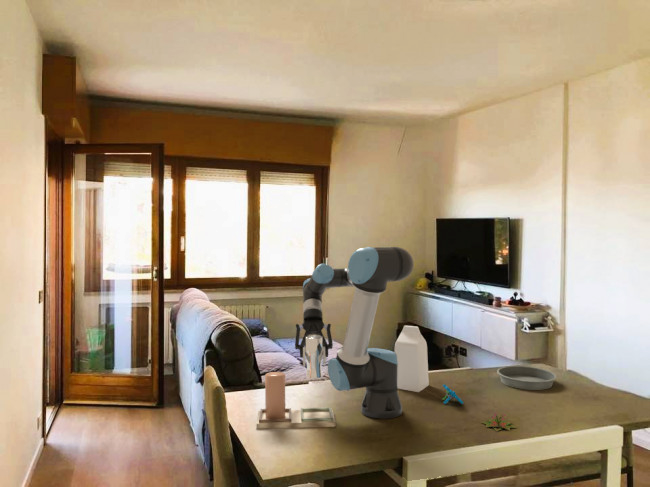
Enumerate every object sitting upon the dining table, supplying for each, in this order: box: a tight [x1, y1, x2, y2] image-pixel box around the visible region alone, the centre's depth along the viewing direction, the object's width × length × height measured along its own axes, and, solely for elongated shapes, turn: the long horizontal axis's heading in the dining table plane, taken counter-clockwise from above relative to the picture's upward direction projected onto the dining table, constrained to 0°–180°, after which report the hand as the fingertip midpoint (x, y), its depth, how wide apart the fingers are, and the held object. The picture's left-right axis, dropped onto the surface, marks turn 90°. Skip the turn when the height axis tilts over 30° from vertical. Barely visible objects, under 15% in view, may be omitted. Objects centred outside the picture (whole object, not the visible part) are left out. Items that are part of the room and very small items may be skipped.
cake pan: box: [496, 365, 558, 391], centre depth 239 cm, size 25×25×4 cm
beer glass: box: [304, 334, 324, 380], centre depth 201 cm, size 7×7×15 cm
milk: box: [393, 325, 430, 393], centre depth 233 cm, size 12×12×26 cm
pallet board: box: [256, 407, 336, 429], centre depth 192 cm, size 27×13×3 cm, turn 94°
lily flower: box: [480, 412, 518, 432], centre depth 187 cm, size 12×12×5 cm
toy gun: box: [442, 384, 464, 405], centre depth 211 cm, size 11×6×10 cm
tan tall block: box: [264, 371, 286, 419], centre depth 191 cm, size 7×7×15 cm
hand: (314, 364), depth 198 cm, fingers closed on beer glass, 7 cm apart
